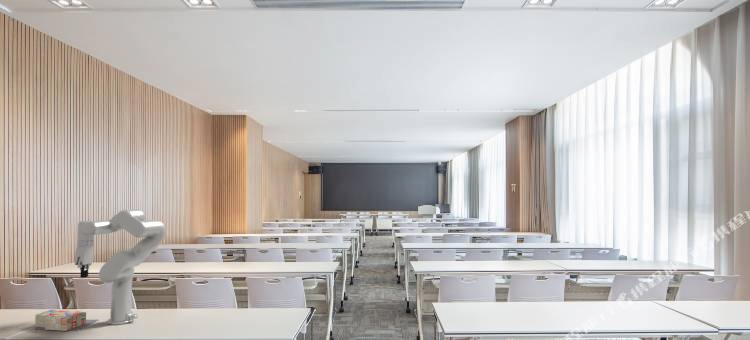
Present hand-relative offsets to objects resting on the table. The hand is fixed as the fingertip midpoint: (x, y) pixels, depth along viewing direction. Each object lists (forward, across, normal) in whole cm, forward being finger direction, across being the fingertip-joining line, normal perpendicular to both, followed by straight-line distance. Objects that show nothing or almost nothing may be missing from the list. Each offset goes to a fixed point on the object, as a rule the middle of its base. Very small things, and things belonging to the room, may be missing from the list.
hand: (84, 277), depth 248 cm
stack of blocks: (+18, +10, -1) cm, 21 cm away
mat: (+22, +12, 0) cm, 25 cm away
